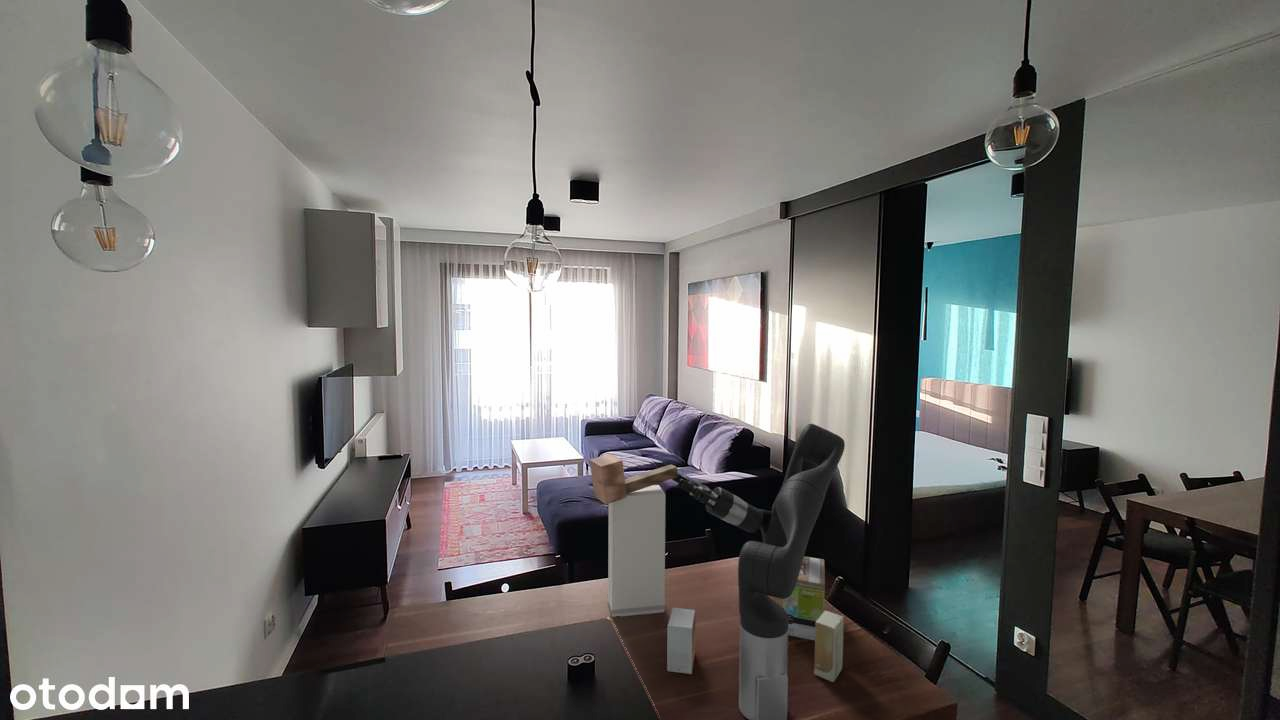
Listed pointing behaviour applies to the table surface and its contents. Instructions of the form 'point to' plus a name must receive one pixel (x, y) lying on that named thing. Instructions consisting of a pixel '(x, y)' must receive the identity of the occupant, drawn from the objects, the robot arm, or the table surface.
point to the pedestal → (637, 553)
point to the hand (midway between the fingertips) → (676, 479)
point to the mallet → (623, 478)
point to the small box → (681, 640)
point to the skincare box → (828, 645)
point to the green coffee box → (806, 599)
